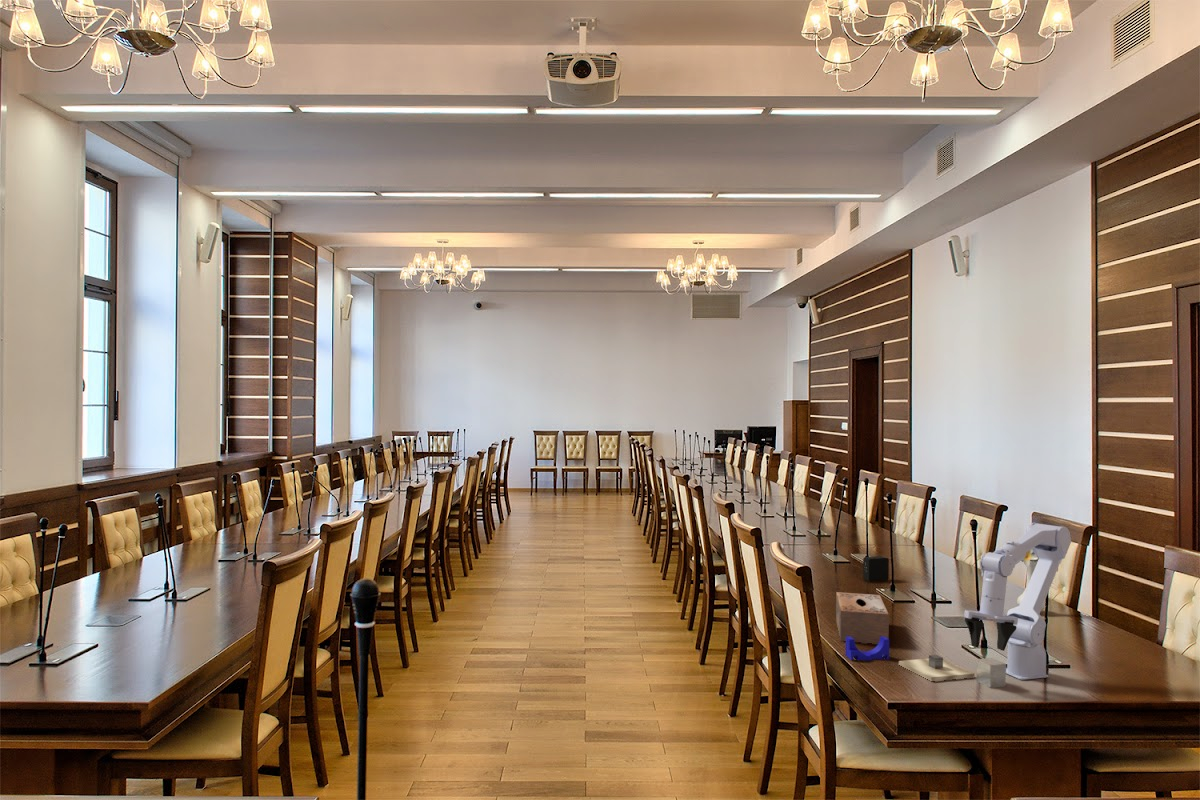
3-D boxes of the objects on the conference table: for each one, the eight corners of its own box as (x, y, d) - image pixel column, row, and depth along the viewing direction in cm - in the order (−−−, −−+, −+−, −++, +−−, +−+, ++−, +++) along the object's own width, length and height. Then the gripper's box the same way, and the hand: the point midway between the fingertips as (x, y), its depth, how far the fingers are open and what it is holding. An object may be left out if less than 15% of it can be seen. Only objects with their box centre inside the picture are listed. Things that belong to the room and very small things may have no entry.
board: (939, 661, 229) (939, 657, 229) (974, 677, 216) (974, 673, 216) (898, 665, 225) (898, 661, 225) (931, 681, 212) (931, 677, 212)
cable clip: (851, 661, 229) (851, 640, 229) (845, 656, 233) (845, 636, 233) (891, 661, 229) (891, 641, 229) (884, 656, 234) (885, 636, 234)
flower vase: (1066, 618, 279) (1067, 548, 279) (1010, 614, 283) (1011, 545, 283) (1053, 609, 292) (1054, 542, 292) (1000, 605, 295) (1001, 539, 296)
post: (936, 665, 222) (936, 654, 222) (942, 668, 220) (942, 657, 220) (928, 665, 221) (928, 655, 221) (935, 668, 219) (935, 658, 219)
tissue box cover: (888, 646, 244) (888, 614, 244) (840, 642, 248) (840, 610, 248) (879, 623, 269) (879, 595, 270) (835, 620, 273) (836, 592, 273)
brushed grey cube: (991, 679, 214) (991, 657, 214) (1005, 686, 209) (1005, 663, 209) (976, 681, 213) (976, 659, 213) (990, 687, 208) (990, 665, 208)
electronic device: (862, 580, 337) (863, 557, 337) (882, 579, 340) (882, 556, 340) (869, 582, 333) (869, 558, 333) (888, 581, 336) (888, 557, 336)
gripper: (977, 597, 207) (972, 648, 206) (1027, 603, 209) (1022, 655, 208) (961, 592, 214) (956, 642, 213) (1010, 598, 216) (1005, 648, 215)
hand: (987, 648), depth 211 cm, fingers open, 7 cm apart
